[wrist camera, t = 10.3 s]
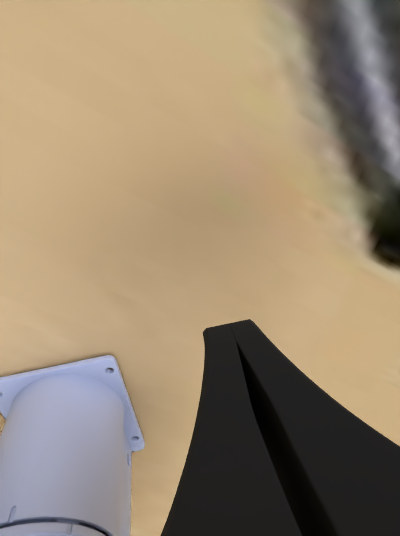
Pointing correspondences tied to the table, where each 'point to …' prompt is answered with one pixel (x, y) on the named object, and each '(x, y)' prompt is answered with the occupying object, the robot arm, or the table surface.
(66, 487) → the robot arm
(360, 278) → the table surface
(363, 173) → the table surface
